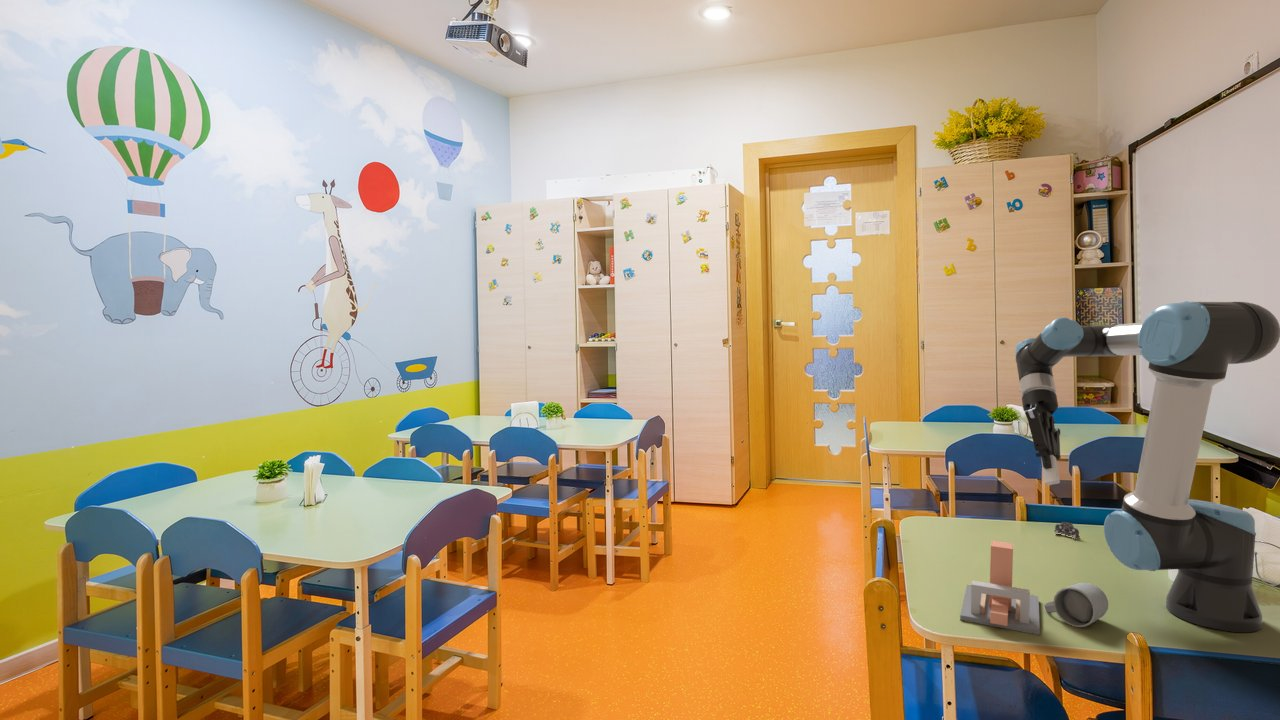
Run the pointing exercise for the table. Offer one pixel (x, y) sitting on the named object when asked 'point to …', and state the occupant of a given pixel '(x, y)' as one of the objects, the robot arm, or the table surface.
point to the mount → (1019, 617)
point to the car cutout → (1067, 529)
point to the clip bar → (1000, 580)
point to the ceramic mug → (1079, 604)
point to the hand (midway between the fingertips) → (1052, 482)
